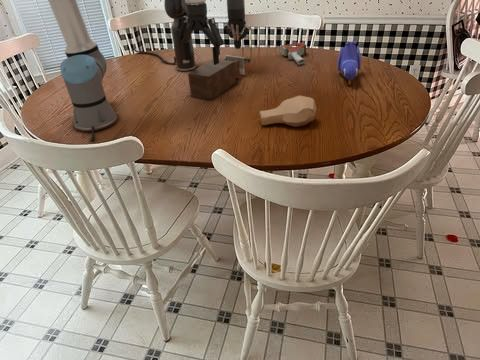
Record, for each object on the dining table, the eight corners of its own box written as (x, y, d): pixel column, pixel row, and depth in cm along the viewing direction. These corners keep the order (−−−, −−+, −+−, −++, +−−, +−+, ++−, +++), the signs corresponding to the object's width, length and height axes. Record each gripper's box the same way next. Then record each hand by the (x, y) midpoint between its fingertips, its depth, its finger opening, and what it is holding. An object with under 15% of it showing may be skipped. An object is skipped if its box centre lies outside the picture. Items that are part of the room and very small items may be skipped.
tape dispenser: (301, 69, 172) (317, 54, 185) (301, 58, 169) (318, 44, 181) (269, 62, 180) (286, 49, 192) (269, 52, 176) (287, 39, 189)
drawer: (234, 67, 172) (233, 51, 167) (251, 70, 168) (250, 53, 164) (206, 85, 155) (204, 67, 151) (223, 88, 151) (222, 70, 147)
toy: (336, 78, 167) (337, 88, 145) (337, 40, 160) (339, 44, 138) (358, 77, 165) (363, 87, 142) (360, 39, 158) (366, 42, 136)
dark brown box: (216, 80, 162) (214, 58, 157) (235, 83, 158) (234, 61, 152) (191, 96, 149) (187, 73, 143) (211, 100, 144) (208, 76, 139)
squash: (320, 127, 121) (320, 106, 115) (262, 137, 123) (259, 116, 116) (314, 109, 129) (313, 87, 122) (259, 119, 130) (256, 98, 124)
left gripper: (230, 2, 126) (233, 62, 138) (175, -1, 136) (182, 55, 149) (219, 6, 121) (223, 68, 133) (162, 3, 131) (171, 60, 144)
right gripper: (253, 5, 151) (254, 47, 161) (227, 4, 157) (230, 44, 167) (245, 9, 146) (246, 52, 156) (218, 7, 152) (221, 49, 162)
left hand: (202, 61), depth 141 cm, fingers open, 13 cm apart
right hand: (238, 48), depth 162 cm, fingers closed
